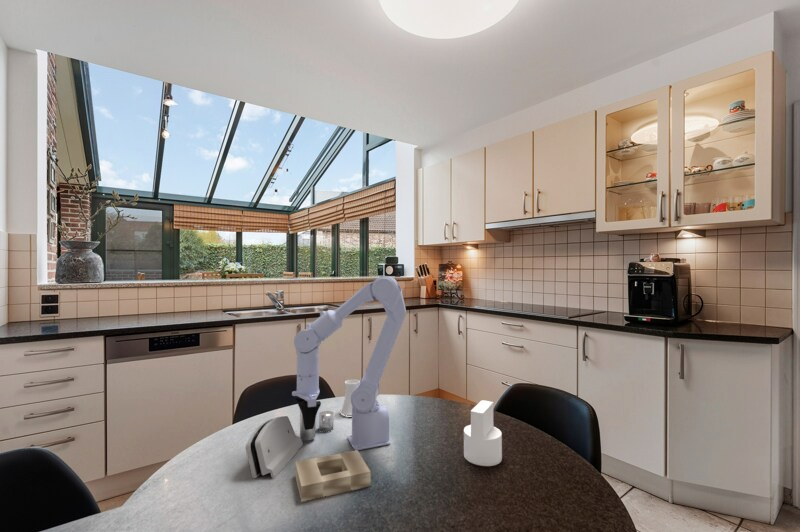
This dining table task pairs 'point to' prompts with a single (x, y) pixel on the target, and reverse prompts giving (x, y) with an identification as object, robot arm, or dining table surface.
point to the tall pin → (306, 433)
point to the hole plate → (331, 475)
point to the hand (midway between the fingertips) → (307, 425)
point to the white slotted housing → (272, 446)
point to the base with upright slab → (482, 437)
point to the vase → (348, 396)
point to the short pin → (326, 421)
